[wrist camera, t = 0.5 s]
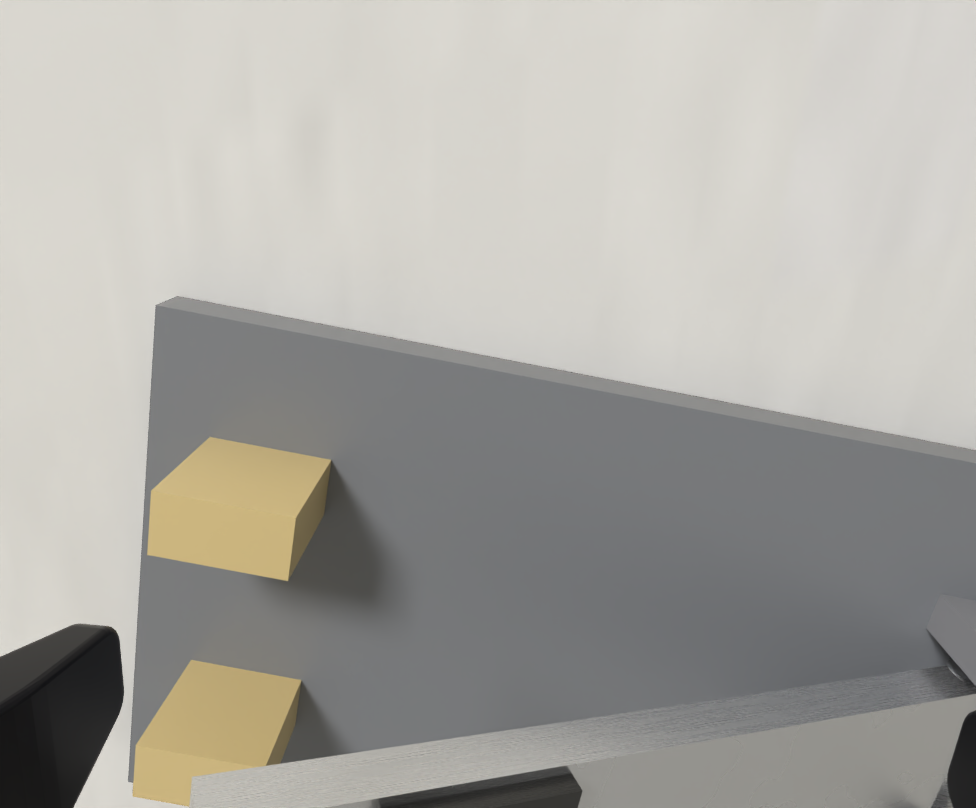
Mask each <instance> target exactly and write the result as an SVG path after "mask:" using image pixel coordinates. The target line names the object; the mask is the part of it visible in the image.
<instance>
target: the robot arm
mask: <svg viewBox="0 0 976 808" xmlns="http://www.w3.org/2000/svg"><path fill="white" fill-rule="evenodd" d="M123 696H124V685H123V674H122V663H121V652H120V641H119V636H118V634H117V632H116V631H115V630H114V629H113V628H112V627H109V626H100V625H90V624H74V625H71V626H69V627H67V628H65V629H62V630H60V631H58V632H55V633H53V634H51V635H49V636H46V637H44V638H42V639H40V640H37V641H35V642H33V643H31V644H28V645H26V646H24V647H22V648H19V649H17V650H15V651H12V652H10V653H8V654H6V655H3V656H1V657H0V808H73V807H74V805H75V803H76V801H77V799H78V797H79V795H80V793H81V791H82V789H83V787H84V785H85V783H86V781H87V779H88V777H89V775H90V773H91V771H92V769H93V767H94V764H95V762H96V760H97V758H98V756H99V754H100V752H101V750H102V748H103V746H104V744H105V742H106V740H107V738H108V736H109V734H110V732H111V730H112V728H113V726H114V724H115V722H116V719H117V717H118V715H119V713H120V710H121V707H122V703H123ZM947 788H948V793H949V797H950V801H951V803H952V806H953V808H976V710H975V711H972V712H970V713H969V714H968V715H967V716H966V717H965V719H964V721H963V724H962V727H961V731H960V734H959V737H958V740H957V743H956V747H955V750H954V753H953V756H952V760H951V763H950V766H949V769H948V774H947Z"/></svg>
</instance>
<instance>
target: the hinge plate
mask: <svg viewBox="0 0 976 808" xmlns="http://www.w3.org/2000/svg"><path fill="white" fill-rule="evenodd" d="M949 659H953V660H954V661H955V662H956V664H957V665H958V666H959V667H960V668H961V669H962V671H963V672H964V673H965V674H966V675H967V676H968V678H969V679H970V680H971V681H972V682H973V683H974V685H975V686H976V450H971V449H966V448H961V447H956V446H950V445H945V444H940V443H935V442H930V441H925V440H919V439H914V438H909V437H904V436H899V435H893V434H888V433H883V432H878V431H873V430H868V429H862V428H857V427H852V426H847V425H842V424H836V423H831V422H826V421H821V420H816V419H811V418H805V417H800V416H795V415H790V414H785V413H780V412H774V411H769V410H764V409H759V408H754V407H748V406H743V405H738V404H733V403H728V402H723V401H717V400H712V399H707V398H702V397H697V396H691V395H686V394H681V393H676V392H671V391H666V390H660V389H655V388H650V387H645V386H640V385H635V384H629V383H624V382H619V381H614V380H609V379H603V378H598V377H593V376H588V375H583V374H578V373H572V372H567V371H562V370H557V369H552V368H547V367H541V366H536V365H531V364H526V363H521V362H515V361H510V360H505V359H500V358H495V357H490V356H484V355H479V354H474V353H469V352H464V351H458V350H453V349H448V348H443V347H438V346H433V345H427V344H422V343H417V342H412V341H407V340H402V339H396V338H391V337H386V336H381V335H376V334H370V333H365V332H360V331H355V330H350V329H345V328H339V327H334V326H329V325H324V324H319V323H313V322H308V321H303V320H298V319H293V318H288V317H282V316H277V315H272V314H267V313H262V312H257V311H251V310H246V309H241V308H236V307H231V306H225V305H220V304H215V303H210V302H205V301H200V300H194V299H189V298H184V297H179V296H177V297H174V298H172V299H169V300H167V301H165V302H162V303H160V304H157V305H156V309H155V327H154V344H153V361H152V379H151V396H150V413H149V430H148V448H147V465H146V482H145V499H144V517H143V534H142V551H141V569H140V586H139V603H138V620H137V638H136V655H135V672H134V689H133V707H132V724H131V741H130V759H129V776H128V782H132V783H133V796H134V797H139V798H145V799H150V800H156V801H161V802H167V803H173V804H178V805H184V806H189V804H190V793H191V782H192V777H194V776H201V775H208V774H214V773H221V772H228V771H235V770H242V769H248V768H255V767H262V766H269V765H275V764H282V763H289V762H296V761H302V760H309V759H316V758H323V757H330V756H336V755H343V754H350V753H357V752H363V751H370V750H377V749H384V748H391V747H397V746H404V745H411V744H418V743H424V742H431V741H438V740H445V739H451V738H458V737H465V736H472V735H479V734H485V733H492V732H499V731H506V730H512V729H519V728H526V727H533V726H539V725H546V724H553V723H560V722H567V721H573V720H580V719H587V718H594V717H600V716H607V715H614V714H621V713H627V712H634V711H641V710H648V709H655V708H661V707H668V706H675V705H682V704H688V703H695V702H702V701H709V700H715V699H722V698H729V697H736V696H743V695H749V694H756V693H763V692H770V691H776V690H783V689H790V688H797V687H803V686H810V685H817V684H824V683H831V682H837V681H844V680H851V679H858V678H864V677H871V676H878V675H885V674H892V673H898V672H905V671H912V670H919V669H925V668H932V667H939V666H946V664H947V662H948V660H949Z"/></svg>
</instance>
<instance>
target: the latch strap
mask: <svg viewBox="0 0 976 808" xmlns="http://www.w3.org/2000/svg"><path fill="white" fill-rule="evenodd" d="M975 710H976V686H975V685H974V683H973V682H972V681H971V680H970V679H969V678H968V676H967V675H966V674H965V673H964V672H963V671H962V669H961V668H960V667H959V666H958V665H957V664H956V662H955V661H954V660H953V659H949V660H948V662H947V664H946V666H939V667H932V668H925V669H919V670H912V671H905V672H898V673H892V674H885V675H878V676H871V677H864V678H858V679H851V680H844V681H837V682H831V683H824V684H817V685H810V686H803V687H797V688H790V689H783V690H776V691H770V692H763V693H756V694H749V695H743V696H736V697H729V698H722V699H715V700H709V701H702V702H695V703H688V704H682V705H675V706H668V707H661V708H655V709H648V710H641V711H634V712H627V713H621V714H614V715H607V716H600V717H594V718H587V719H580V720H573V721H567V722H560V723H553V724H546V725H539V726H533V727H526V728H519V729H512V730H506V731H499V732H492V733H485V734H479V735H472V736H465V737H458V738H451V739H445V740H438V741H431V742H424V743H418V744H411V745H404V746H397V747H391V748H384V749H377V750H370V751H363V752H357V753H350V754H343V755H336V756H330V757H323V758H316V759H309V760H302V761H296V762H289V763H282V764H275V765H269V766H262V767H255V768H248V769H242V770H235V771H228V772H221V773H214V774H208V775H201V776H194V777H192V782H191V793H190V804H189V808H953V806H952V803H951V801H950V797H949V793H948V788H947V774H948V769H949V766H950V763H951V760H952V756H953V753H954V750H955V747H956V743H957V740H958V737H959V734H960V731H961V727H962V724H963V721H964V719H965V717H966V716H967V715H968V714H969V713H970V712H972V711H975Z"/></svg>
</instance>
